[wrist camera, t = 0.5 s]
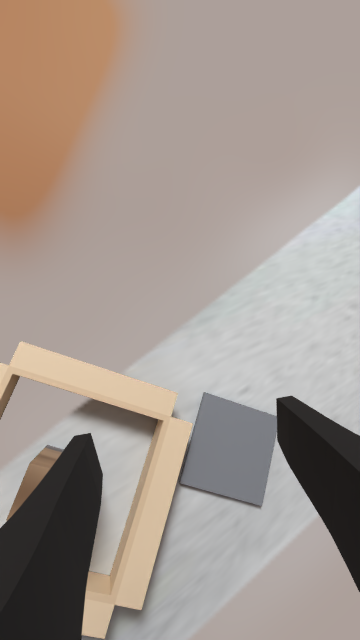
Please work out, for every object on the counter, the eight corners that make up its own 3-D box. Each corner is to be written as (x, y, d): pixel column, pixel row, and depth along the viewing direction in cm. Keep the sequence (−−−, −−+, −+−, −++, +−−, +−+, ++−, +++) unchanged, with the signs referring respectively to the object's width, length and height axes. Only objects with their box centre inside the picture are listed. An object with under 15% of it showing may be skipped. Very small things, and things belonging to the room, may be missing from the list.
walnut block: (80, 499, 31) (73, 536, 23) (30, 486, 30) (6, 520, 22) (94, 458, 32) (92, 480, 24) (47, 444, 31) (29, 463, 23)
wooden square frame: (129, 619, 29) (131, 643, 26) (-112, 572, 26) (-138, 594, 23) (191, 399, 35) (199, 400, 33) (3, 337, 32) (-6, 332, 29)
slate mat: (259, 504, 35) (261, 506, 34) (179, 481, 33) (180, 483, 33) (277, 417, 38) (279, 417, 37) (203, 392, 36) (205, 392, 35)
